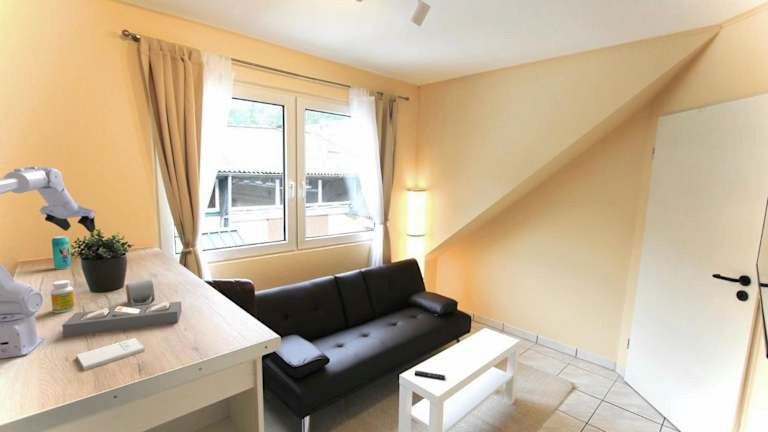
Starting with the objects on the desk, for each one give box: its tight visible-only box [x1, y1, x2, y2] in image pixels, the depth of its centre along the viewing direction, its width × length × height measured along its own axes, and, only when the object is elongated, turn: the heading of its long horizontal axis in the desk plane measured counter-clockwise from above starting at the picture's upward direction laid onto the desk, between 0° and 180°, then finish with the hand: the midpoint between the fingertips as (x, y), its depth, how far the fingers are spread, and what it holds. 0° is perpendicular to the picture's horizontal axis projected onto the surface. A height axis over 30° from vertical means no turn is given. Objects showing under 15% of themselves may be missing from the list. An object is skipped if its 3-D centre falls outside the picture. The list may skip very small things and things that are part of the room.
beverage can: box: [51, 235, 72, 270], centre depth 160 cm, size 6×6×15 cm
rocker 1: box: [81, 307, 109, 320], centre depth 103 cm, size 4×6×2 cm, turn 114°
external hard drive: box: [75, 337, 145, 371], centre depth 89 cm, size 2×8×12 cm
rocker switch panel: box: [61, 301, 183, 338], centre depth 107 cm, size 9×28×4 cm, turn 114°
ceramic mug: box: [125, 278, 156, 307], centre depth 123 cm, size 11×8×8 cm
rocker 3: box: [146, 300, 170, 312], centre depth 110 cm, size 4×6×2 cm, turn 114°
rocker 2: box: [113, 305, 141, 316], centre depth 106 cm, size 4×6×2 cm, turn 114°
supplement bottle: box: [50, 279, 75, 314], centre depth 115 cm, size 5×5×10 cm
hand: (80, 229), depth 115 cm, fingers open, 7 cm apart
